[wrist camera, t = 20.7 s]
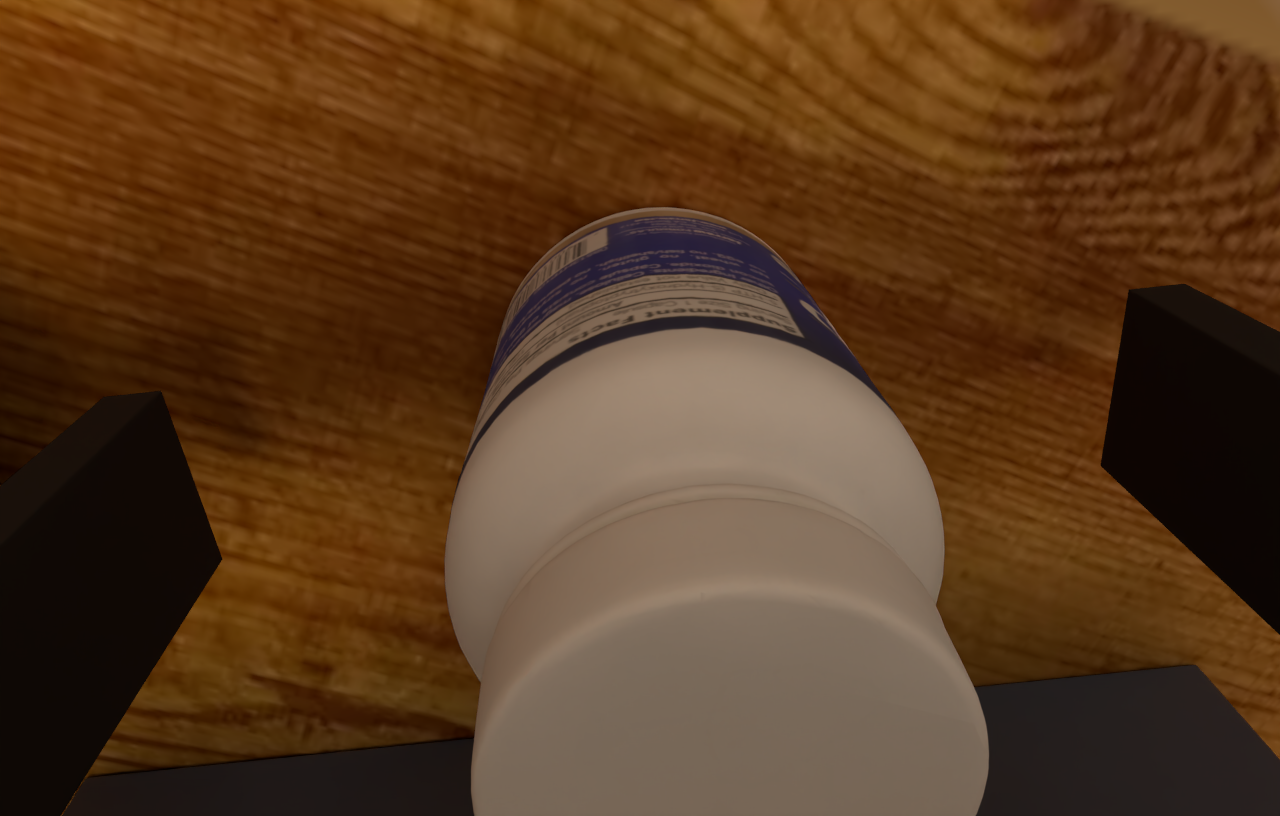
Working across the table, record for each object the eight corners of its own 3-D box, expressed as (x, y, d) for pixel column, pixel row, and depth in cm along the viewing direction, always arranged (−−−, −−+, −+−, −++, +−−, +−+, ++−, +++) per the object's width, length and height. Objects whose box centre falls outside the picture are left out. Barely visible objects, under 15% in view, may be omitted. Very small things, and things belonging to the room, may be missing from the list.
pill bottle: (827, 467, 16) (1065, 970, 8) (538, 516, 16) (479, 1057, 8) (800, 169, 13) (1102, 443, 5) (463, 230, 14) (274, 584, 6)
